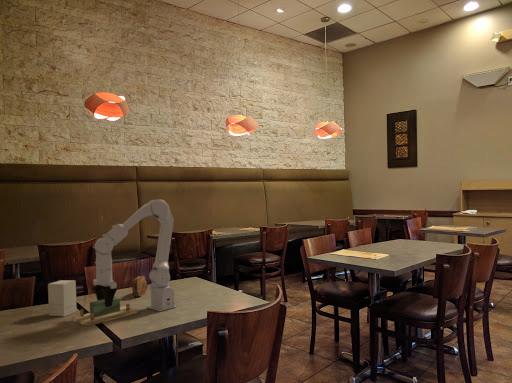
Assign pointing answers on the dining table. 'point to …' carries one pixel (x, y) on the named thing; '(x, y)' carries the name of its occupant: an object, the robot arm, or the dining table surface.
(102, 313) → the board block
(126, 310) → the base plate
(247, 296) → the dining table surface
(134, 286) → the tin
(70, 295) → the supplement box
